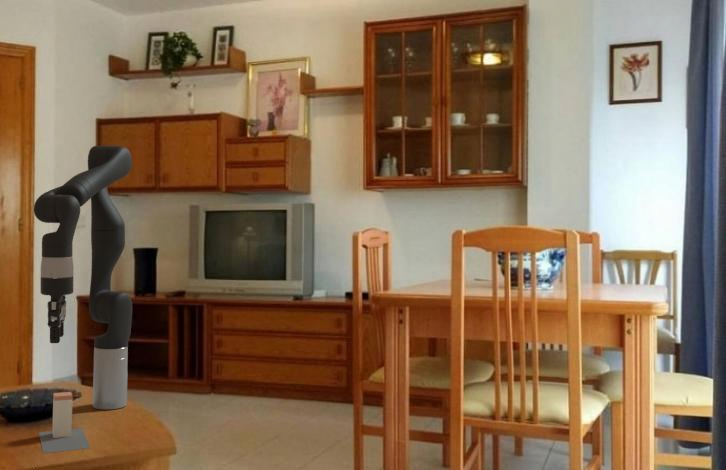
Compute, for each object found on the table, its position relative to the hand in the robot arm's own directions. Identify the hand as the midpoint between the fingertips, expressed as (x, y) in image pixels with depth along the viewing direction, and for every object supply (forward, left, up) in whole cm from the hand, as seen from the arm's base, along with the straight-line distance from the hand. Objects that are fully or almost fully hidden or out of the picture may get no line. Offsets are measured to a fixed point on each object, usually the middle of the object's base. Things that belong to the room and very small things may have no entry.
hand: (56, 339), depth 176 cm
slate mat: (+6, +6, -23) cm, 25 cm away
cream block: (+3, +4, -23) cm, 23 cm away
